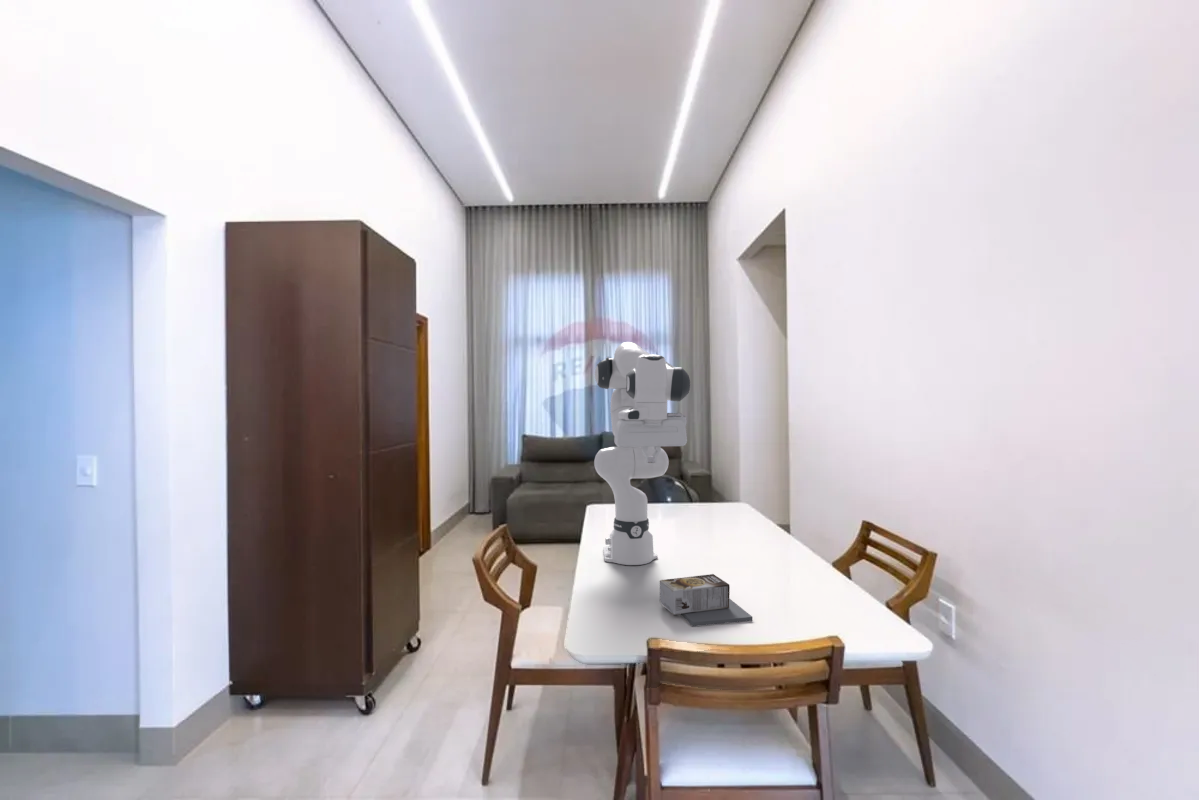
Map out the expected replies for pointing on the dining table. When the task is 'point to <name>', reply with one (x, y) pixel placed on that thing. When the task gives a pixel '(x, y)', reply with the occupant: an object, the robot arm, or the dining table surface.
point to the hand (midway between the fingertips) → (650, 462)
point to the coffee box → (694, 594)
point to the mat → (718, 616)
